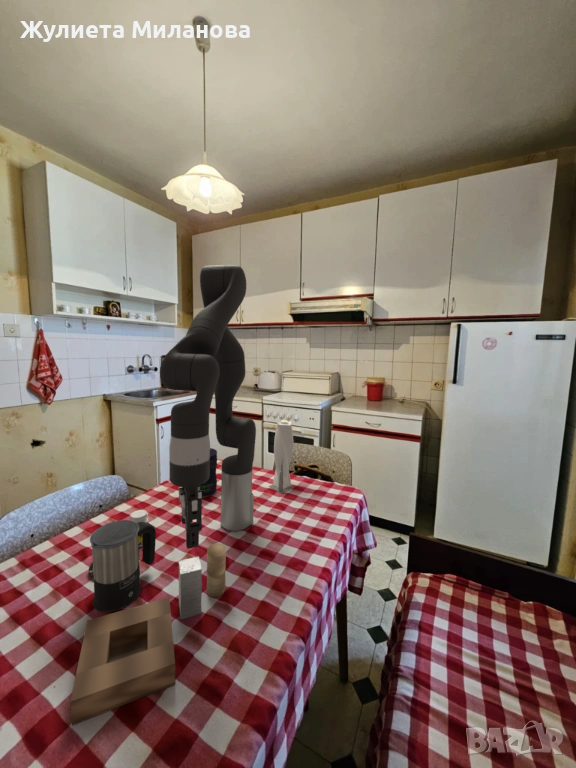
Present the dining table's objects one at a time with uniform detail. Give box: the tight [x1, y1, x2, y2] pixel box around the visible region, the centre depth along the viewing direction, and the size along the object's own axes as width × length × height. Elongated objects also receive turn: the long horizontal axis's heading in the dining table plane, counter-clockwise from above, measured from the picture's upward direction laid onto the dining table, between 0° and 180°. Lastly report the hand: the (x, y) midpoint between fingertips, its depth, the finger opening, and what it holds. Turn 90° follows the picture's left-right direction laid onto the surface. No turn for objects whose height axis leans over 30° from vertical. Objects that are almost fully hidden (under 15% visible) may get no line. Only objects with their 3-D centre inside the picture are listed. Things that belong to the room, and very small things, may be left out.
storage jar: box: [199, 447, 218, 498], centre depth 114 cm, size 10×10×15 cm
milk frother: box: [88, 519, 157, 613], centre depth 69 cm, size 14×16×15 cm
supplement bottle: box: [130, 509, 150, 548], centre depth 84 cm, size 5×5×8 cm
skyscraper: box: [268, 415, 295, 494], centre depth 120 cm, size 8×8×28 cm
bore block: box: [69, 596, 176, 726], centre depth 53 cm, size 14×14×4 cm
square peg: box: [178, 555, 203, 621], centre depth 64 cm, size 4×4×10 cm
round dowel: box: [206, 542, 227, 598], centre depth 69 cm, size 4×4×10 cm
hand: (189, 533), depth 62 cm, fingers open, 8 cm apart
